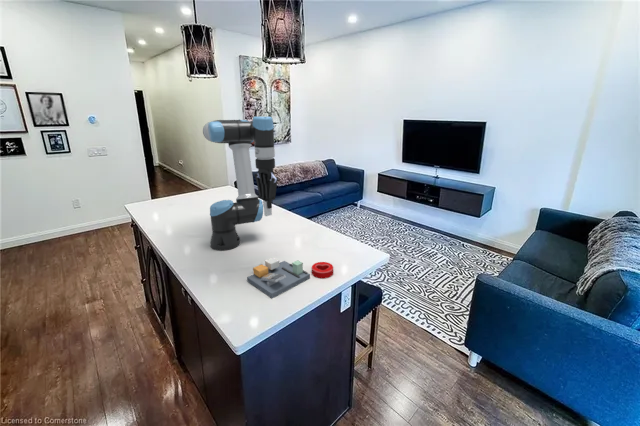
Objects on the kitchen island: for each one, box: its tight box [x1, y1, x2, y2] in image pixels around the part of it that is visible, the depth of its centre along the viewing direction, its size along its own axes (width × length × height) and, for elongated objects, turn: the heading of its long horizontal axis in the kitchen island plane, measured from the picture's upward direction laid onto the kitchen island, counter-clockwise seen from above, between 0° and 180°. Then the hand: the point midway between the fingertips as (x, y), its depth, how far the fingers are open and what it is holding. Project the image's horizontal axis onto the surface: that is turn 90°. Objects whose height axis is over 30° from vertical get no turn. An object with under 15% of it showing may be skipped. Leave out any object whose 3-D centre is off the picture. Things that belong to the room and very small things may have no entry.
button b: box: [264, 257, 280, 270], centre depth 126 cm, size 4×4×3 cm
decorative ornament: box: [311, 261, 334, 279], centre depth 129 cm, size 10×10×3 cm
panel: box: [246, 260, 311, 299], centre depth 123 cm, size 17×20×4 cm
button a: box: [252, 264, 268, 278], centre depth 123 cm, size 4×4×3 cm
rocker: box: [261, 273, 286, 282], centre depth 117 cm, size 10×5×1 cm, turn 45°
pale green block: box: [291, 260, 304, 275], centre depth 124 cm, size 3×3×5 cm
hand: (268, 215), depth 122 cm, fingers closed
